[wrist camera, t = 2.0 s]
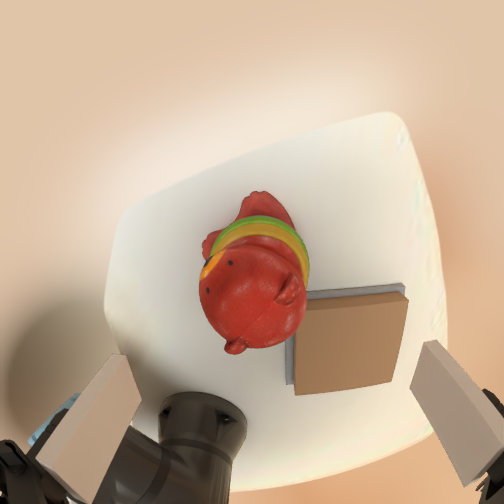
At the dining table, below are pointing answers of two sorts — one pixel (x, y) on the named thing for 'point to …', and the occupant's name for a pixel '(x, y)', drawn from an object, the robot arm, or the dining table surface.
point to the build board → (347, 339)
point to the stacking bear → (255, 276)
